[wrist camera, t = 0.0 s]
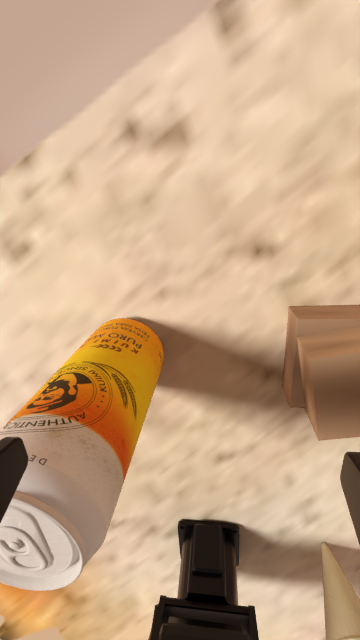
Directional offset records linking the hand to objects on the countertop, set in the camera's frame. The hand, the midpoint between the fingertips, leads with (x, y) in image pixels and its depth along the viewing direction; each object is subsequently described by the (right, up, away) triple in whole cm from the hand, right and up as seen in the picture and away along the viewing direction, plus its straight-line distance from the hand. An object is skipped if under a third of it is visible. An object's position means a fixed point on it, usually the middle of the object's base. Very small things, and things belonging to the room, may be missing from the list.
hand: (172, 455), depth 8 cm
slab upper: (+12, 0, +11) cm, 16 cm away
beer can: (-4, +1, +16) cm, 17 cm away
